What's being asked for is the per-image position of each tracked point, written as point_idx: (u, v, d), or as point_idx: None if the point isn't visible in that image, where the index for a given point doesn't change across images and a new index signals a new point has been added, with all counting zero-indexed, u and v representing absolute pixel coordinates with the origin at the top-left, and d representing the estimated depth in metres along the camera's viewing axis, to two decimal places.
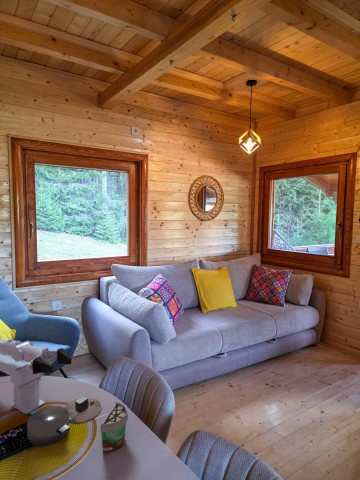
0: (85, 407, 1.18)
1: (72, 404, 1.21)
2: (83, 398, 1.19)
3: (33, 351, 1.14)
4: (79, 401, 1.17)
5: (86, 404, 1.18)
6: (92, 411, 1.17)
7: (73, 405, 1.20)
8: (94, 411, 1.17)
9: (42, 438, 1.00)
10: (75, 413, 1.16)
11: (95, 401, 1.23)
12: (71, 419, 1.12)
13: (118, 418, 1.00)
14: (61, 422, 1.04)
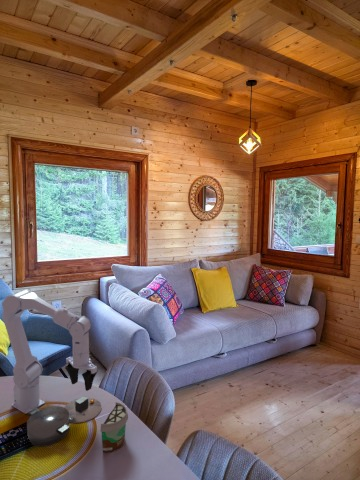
0: (85, 407, 1.18)
1: (72, 404, 1.21)
2: (83, 398, 1.19)
3: (88, 350, 1.17)
4: (79, 401, 1.17)
5: (86, 404, 1.18)
6: (92, 411, 1.17)
7: (73, 405, 1.20)
8: (94, 411, 1.17)
9: (42, 438, 1.00)
10: (75, 413, 1.16)
11: (95, 401, 1.23)
12: (71, 419, 1.12)
13: (118, 418, 1.00)
14: (61, 422, 1.04)
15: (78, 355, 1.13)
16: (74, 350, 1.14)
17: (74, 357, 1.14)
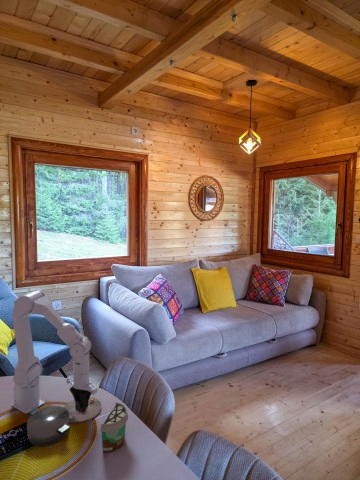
0: None
1: (72, 403, 1.21)
2: None
3: None
4: (79, 400, 1.17)
5: None
6: (92, 410, 1.17)
7: (73, 404, 1.20)
8: (94, 410, 1.17)
9: (42, 438, 1.00)
10: (75, 412, 1.15)
11: (95, 400, 1.23)
12: (71, 418, 1.12)
13: (118, 418, 1.00)
14: (61, 422, 1.04)
15: (78, 376, 1.14)
16: (74, 371, 1.14)
17: (74, 378, 1.15)
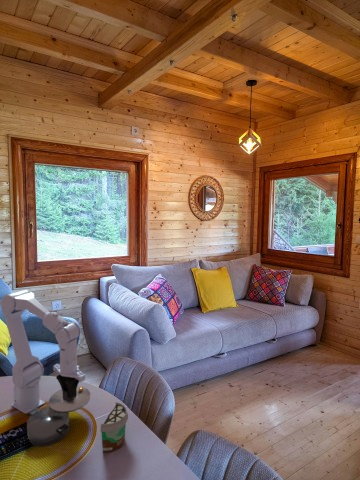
0: (73, 396, 1.13)
1: (60, 392, 1.16)
2: None
3: None
4: (66, 389, 1.12)
5: None
6: (80, 399, 1.12)
7: (61, 394, 1.15)
8: (82, 399, 1.12)
9: (42, 438, 1.00)
10: (62, 402, 1.10)
11: (84, 389, 1.18)
12: (58, 408, 1.07)
13: (118, 418, 1.00)
14: (61, 422, 1.04)
15: (65, 363, 1.09)
16: (60, 357, 1.10)
17: (61, 365, 1.09)
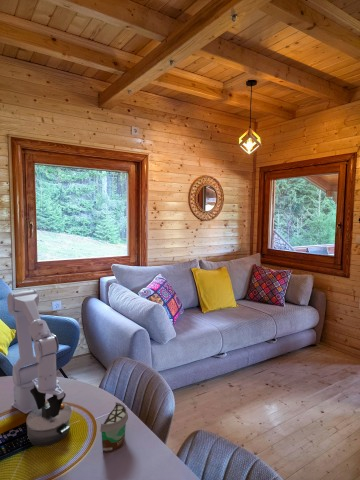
0: None
1: (40, 409, 1.09)
2: None
3: None
4: (46, 406, 1.05)
5: None
6: (60, 417, 1.05)
7: (40, 410, 1.08)
8: (63, 417, 1.05)
9: (42, 438, 1.00)
10: (41, 419, 1.04)
11: (65, 406, 1.11)
12: (35, 426, 1.00)
13: (118, 418, 1.00)
14: None
15: (43, 378, 1.02)
16: None
17: (39, 380, 1.02)
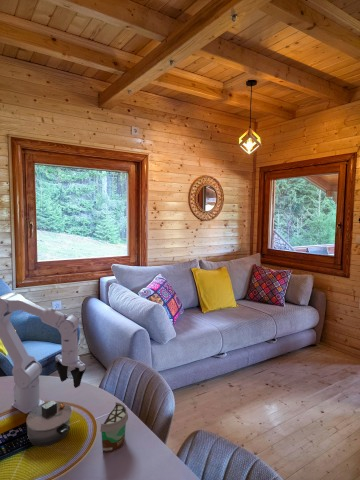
0: (53, 413, 1.06)
1: (39, 409, 1.09)
2: (51, 403, 1.07)
3: (77, 347, 1.19)
4: (46, 406, 1.05)
5: (54, 410, 1.06)
6: (60, 417, 1.05)
7: (40, 410, 1.08)
8: (63, 417, 1.05)
9: (42, 438, 1.00)
10: (41, 419, 1.04)
11: (65, 406, 1.11)
12: (35, 426, 1.00)
13: (118, 418, 1.00)
14: None
15: (67, 353, 1.15)
16: (63, 348, 1.15)
17: (63, 355, 1.16)
